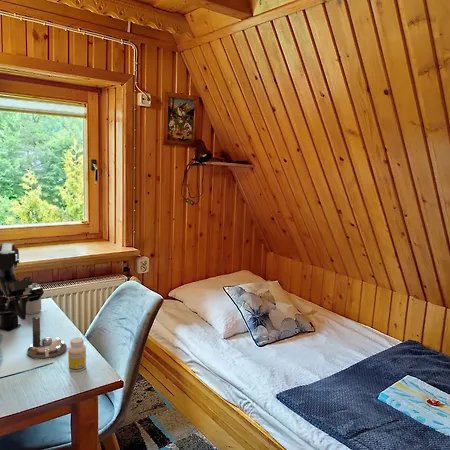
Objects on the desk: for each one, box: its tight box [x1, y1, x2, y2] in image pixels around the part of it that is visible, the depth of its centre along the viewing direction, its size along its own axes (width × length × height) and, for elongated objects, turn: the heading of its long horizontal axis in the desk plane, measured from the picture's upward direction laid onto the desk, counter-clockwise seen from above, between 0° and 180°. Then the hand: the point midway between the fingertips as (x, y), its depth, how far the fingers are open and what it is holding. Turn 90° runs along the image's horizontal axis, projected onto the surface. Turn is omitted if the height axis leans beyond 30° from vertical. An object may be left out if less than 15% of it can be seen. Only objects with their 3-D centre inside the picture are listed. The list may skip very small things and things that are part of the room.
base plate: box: [26, 342, 68, 360], centre depth 150 cm, size 13×13×4 cm
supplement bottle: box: [67, 337, 87, 373], centre depth 139 cm, size 5×5×10 cm
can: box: [23, 282, 42, 315], centre depth 184 cm, size 8×8×12 cm
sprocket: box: [29, 316, 65, 354], centre depth 149 cm, size 11×11×12 cm
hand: (24, 319), depth 151 cm, fingers closed
